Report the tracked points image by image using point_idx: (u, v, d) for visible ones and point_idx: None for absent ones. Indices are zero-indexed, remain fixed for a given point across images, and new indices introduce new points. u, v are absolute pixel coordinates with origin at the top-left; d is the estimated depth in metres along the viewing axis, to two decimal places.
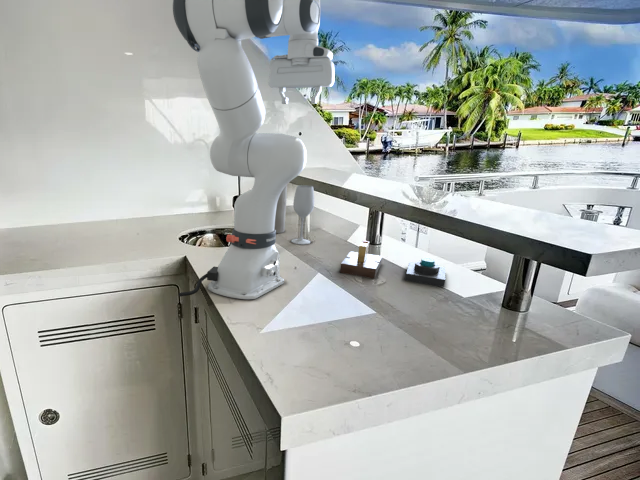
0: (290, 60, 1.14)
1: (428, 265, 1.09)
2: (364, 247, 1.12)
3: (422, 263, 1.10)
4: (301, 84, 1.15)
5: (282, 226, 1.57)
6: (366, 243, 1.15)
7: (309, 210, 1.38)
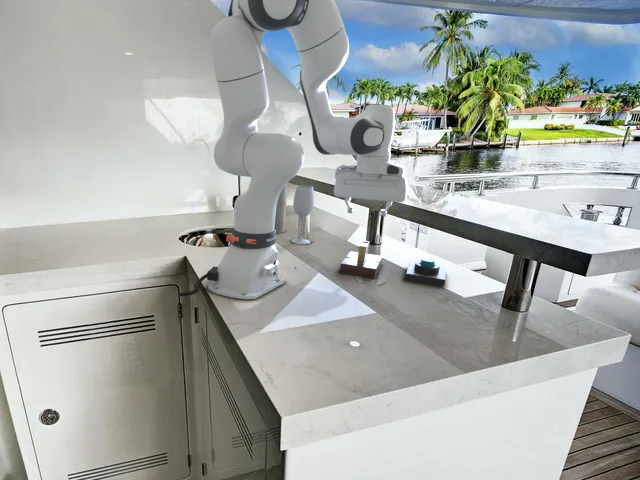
0: (359, 173, 1.08)
1: (428, 265, 1.09)
2: (364, 247, 1.12)
3: (422, 263, 1.10)
4: (371, 198, 1.09)
5: (282, 226, 1.57)
6: (366, 243, 1.15)
7: (309, 210, 1.38)
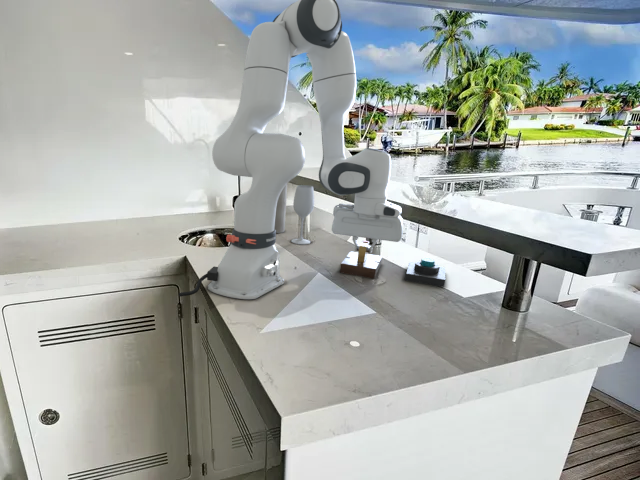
0: (357, 212, 1.12)
1: (428, 265, 1.09)
2: (364, 247, 1.12)
3: (422, 263, 1.10)
4: (368, 236, 1.12)
5: (282, 226, 1.57)
6: (366, 243, 1.15)
7: (309, 210, 1.38)
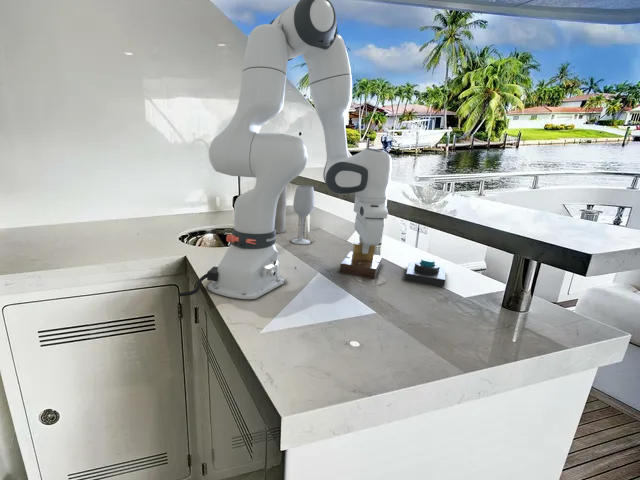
0: None
1: (428, 265, 1.09)
2: (354, 244, 1.15)
3: (422, 263, 1.10)
4: (360, 235, 1.13)
5: (282, 226, 1.57)
6: None
7: (309, 210, 1.38)
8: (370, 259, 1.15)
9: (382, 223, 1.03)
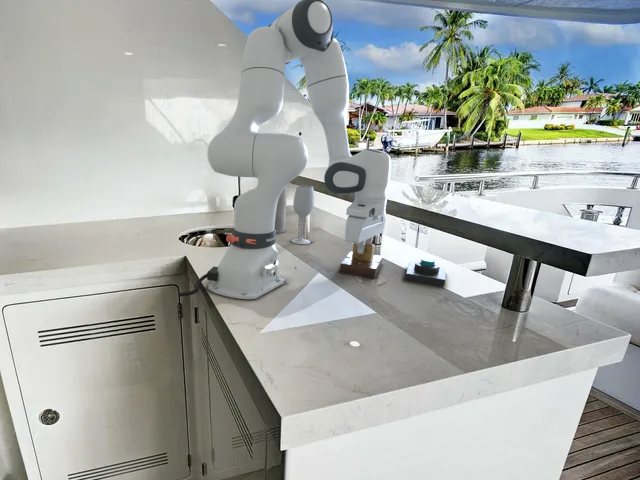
0: None
1: (428, 265, 1.09)
2: None
3: (422, 263, 1.10)
4: None
5: (282, 226, 1.57)
6: (365, 244, 1.14)
7: (309, 210, 1.38)
8: (367, 260, 1.14)
9: (361, 222, 1.04)
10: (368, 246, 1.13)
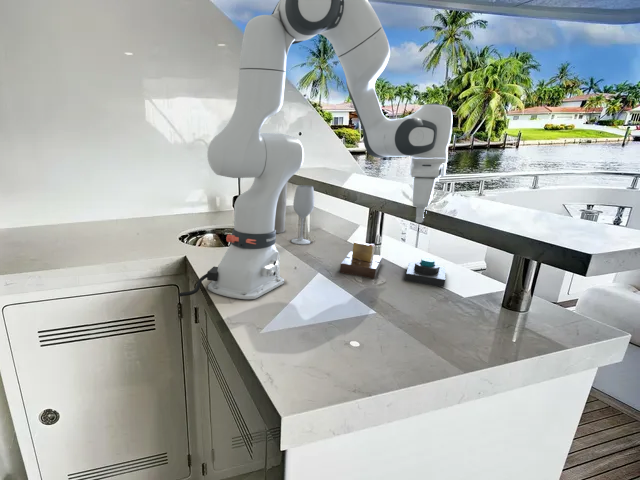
0: None
1: (428, 265, 1.09)
2: None
3: (422, 263, 1.10)
4: None
5: (282, 226, 1.57)
6: (365, 244, 1.14)
7: (309, 210, 1.38)
8: (367, 260, 1.14)
9: (432, 182, 0.95)
10: (368, 246, 1.13)
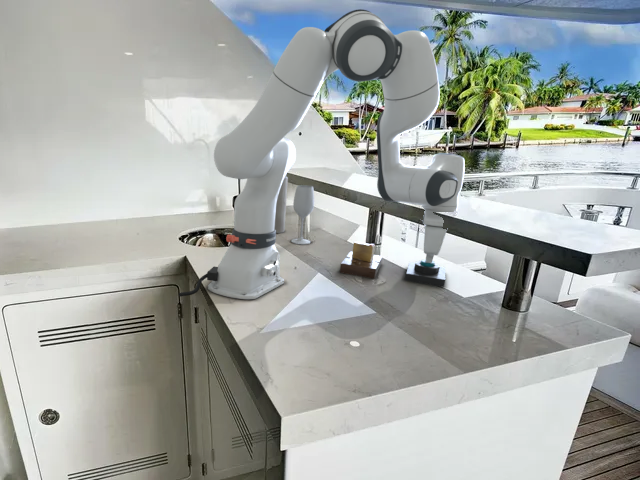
0: None
1: (428, 266, 1.09)
2: None
3: (422, 264, 1.10)
4: None
5: (282, 226, 1.57)
6: (365, 244, 1.14)
7: (309, 210, 1.38)
8: (367, 260, 1.14)
9: (443, 232, 0.98)
10: (368, 246, 1.13)
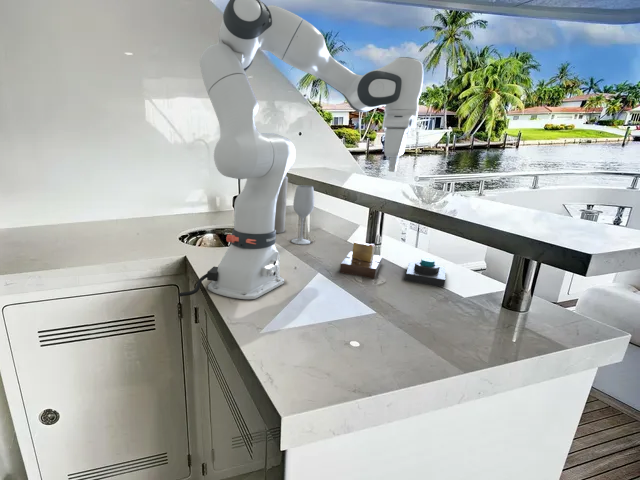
0: None
1: (428, 265, 1.09)
2: None
3: (422, 263, 1.10)
4: None
5: (282, 226, 1.57)
6: (365, 244, 1.14)
7: (309, 210, 1.38)
8: (367, 260, 1.14)
9: (402, 132, 1.01)
10: (368, 246, 1.13)
